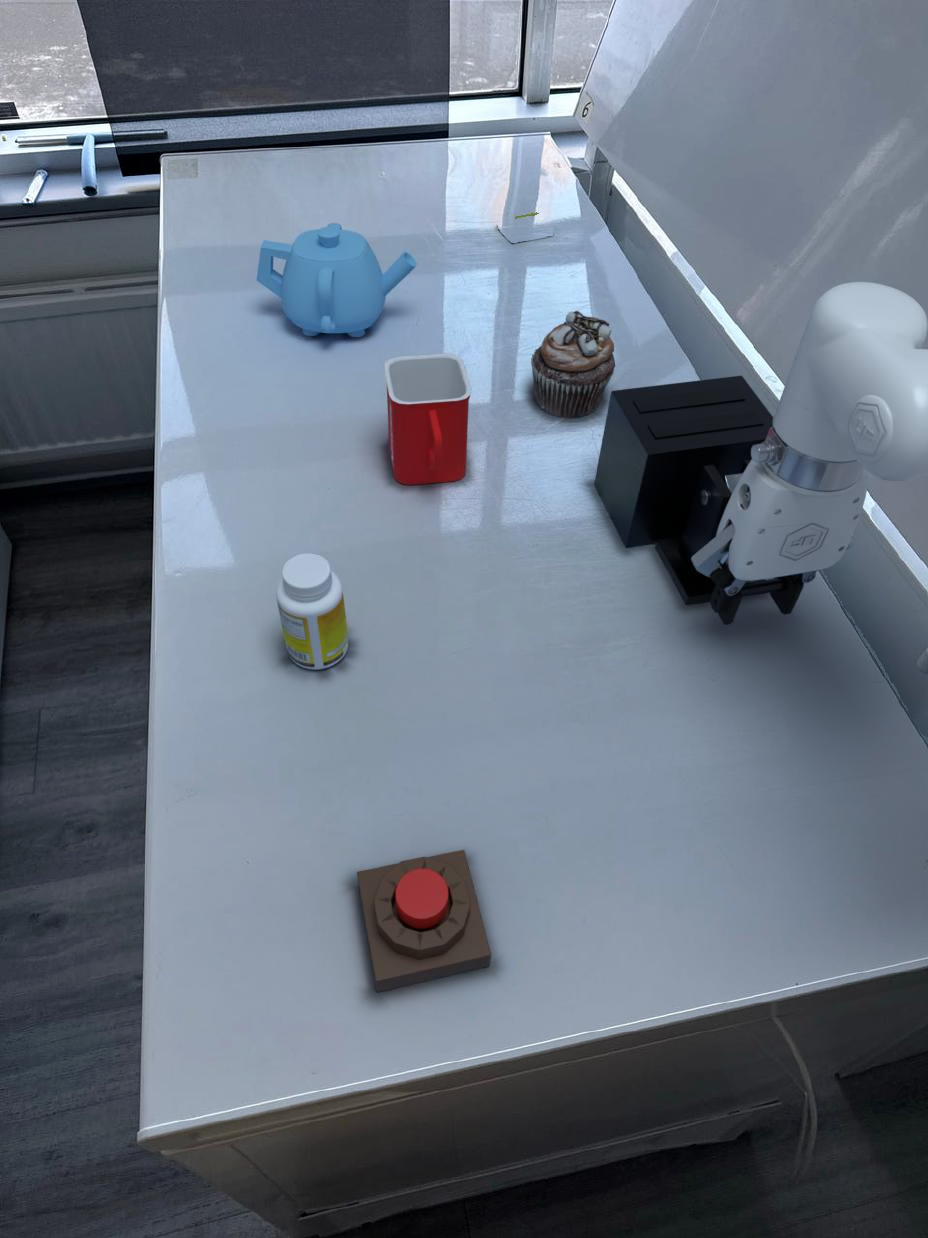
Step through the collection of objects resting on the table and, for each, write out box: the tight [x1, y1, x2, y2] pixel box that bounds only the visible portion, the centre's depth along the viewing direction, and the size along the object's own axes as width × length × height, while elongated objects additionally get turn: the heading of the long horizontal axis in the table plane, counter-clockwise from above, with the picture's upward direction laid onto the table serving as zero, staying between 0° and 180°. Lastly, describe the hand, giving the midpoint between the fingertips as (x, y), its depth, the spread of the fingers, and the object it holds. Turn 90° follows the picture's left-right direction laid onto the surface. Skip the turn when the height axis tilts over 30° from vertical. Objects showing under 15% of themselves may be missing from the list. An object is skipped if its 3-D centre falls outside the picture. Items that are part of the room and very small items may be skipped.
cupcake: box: [530, 310, 616, 419], centre depth 103 cm, size 10×10×10 cm
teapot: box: [256, 222, 418, 338], centre depth 112 cm, size 20×17×12 cm
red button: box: [395, 868, 449, 929], centre depth 61 cm, size 4×4×2 cm
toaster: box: [593, 375, 774, 548], centre depth 90 cm, size 10×14×12 cm
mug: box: [383, 353, 472, 486], centre depth 93 cm, size 12×8×11 cm
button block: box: [356, 849, 492, 993], centre depth 63 cm, size 8×8×4 cm
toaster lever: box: [722, 473, 787, 598], centre depth 81 cm, size 11×5×2 cm, turn 14°
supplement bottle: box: [275, 553, 349, 670], centre depth 77 cm, size 6×6×10 cm
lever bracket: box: [655, 460, 751, 605], centre depth 85 cm, size 8×8×12 cm
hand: (750, 606), depth 82 cm, fingers closed on toaster lever, 5 cm apart
